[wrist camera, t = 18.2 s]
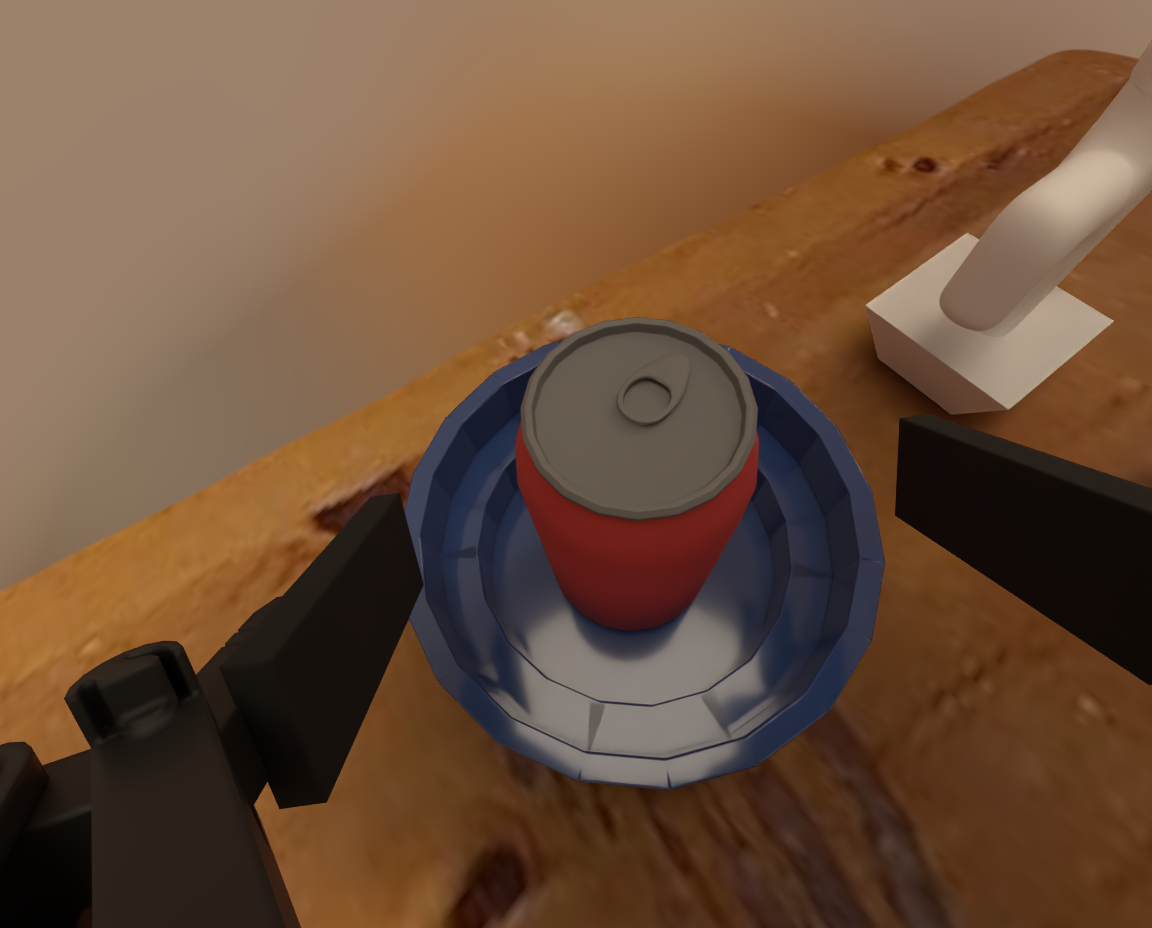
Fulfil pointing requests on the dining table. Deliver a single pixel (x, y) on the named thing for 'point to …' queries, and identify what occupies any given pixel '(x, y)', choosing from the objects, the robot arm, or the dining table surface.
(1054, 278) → the figurine
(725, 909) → the dining table surface
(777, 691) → the bowl
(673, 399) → the beer can
